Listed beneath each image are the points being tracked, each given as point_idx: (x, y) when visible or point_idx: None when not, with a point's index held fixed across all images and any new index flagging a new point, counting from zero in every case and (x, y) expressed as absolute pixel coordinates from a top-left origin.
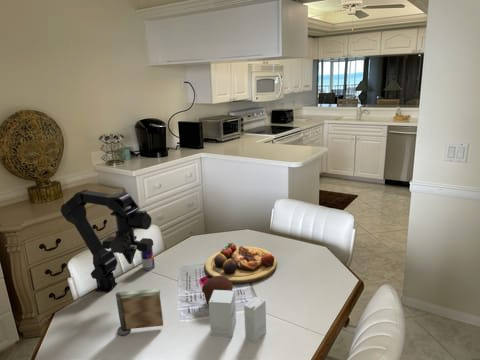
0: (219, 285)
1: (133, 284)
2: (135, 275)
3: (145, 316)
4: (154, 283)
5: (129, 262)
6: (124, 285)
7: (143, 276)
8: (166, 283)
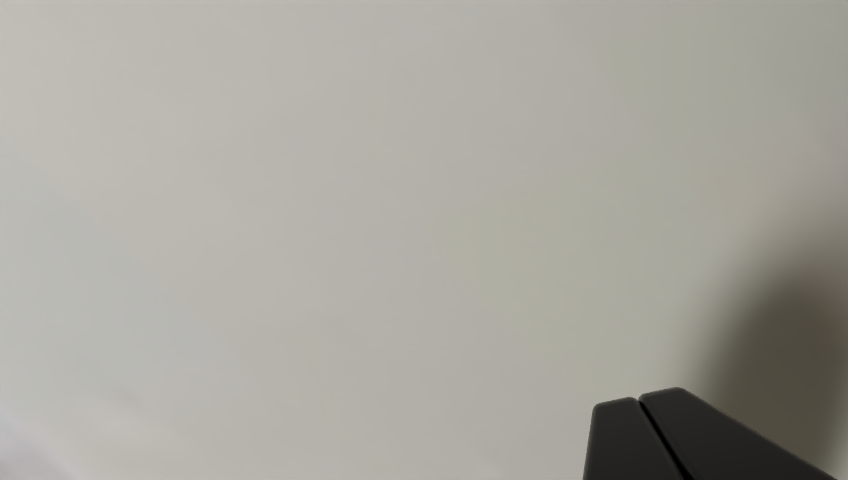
0: None
1: (660, 270)
2: None
3: None
4: (379, 393)
5: (656, 435)
6: (781, 202)
7: None
8: (223, 448)
